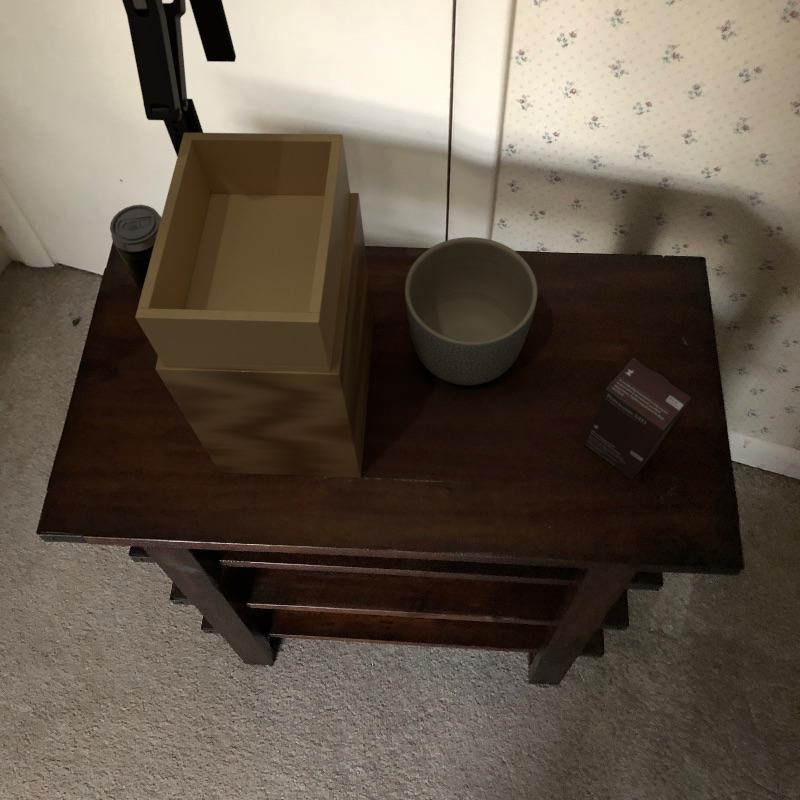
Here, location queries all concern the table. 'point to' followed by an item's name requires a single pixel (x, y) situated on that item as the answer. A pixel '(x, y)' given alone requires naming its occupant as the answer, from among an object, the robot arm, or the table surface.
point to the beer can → (136, 238)
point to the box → (634, 418)
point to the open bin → (249, 253)
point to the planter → (469, 308)
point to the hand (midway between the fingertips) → (209, 108)
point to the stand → (291, 394)
